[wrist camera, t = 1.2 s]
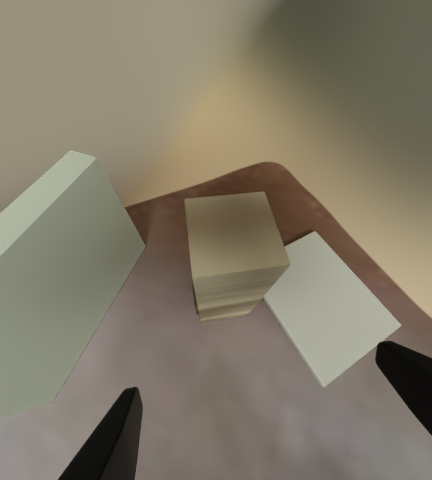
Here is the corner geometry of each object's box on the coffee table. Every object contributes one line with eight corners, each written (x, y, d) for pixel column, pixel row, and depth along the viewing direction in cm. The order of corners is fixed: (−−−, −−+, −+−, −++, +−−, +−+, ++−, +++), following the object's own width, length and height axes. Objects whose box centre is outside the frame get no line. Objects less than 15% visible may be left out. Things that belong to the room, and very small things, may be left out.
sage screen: (145, 246, 24) (96, 157, 13) (52, 402, 16) (-216, 475, 6) (130, 241, 24) (70, 150, 14) (31, 392, 17) (-259, 446, 6)
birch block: (246, 315, 20) (290, 264, 9) (197, 323, 20) (185, 278, 9) (237, 272, 22) (264, 191, 12) (193, 278, 22) (178, 199, 11)
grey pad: (396, 326, 20) (401, 325, 20) (320, 386, 17) (323, 387, 17) (312, 233, 25) (315, 230, 25) (244, 269, 23) (245, 267, 22)
